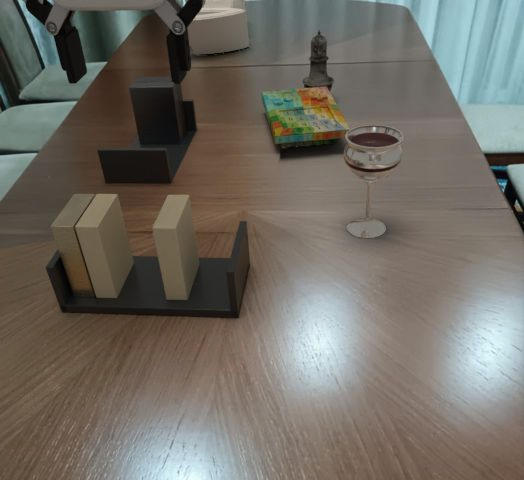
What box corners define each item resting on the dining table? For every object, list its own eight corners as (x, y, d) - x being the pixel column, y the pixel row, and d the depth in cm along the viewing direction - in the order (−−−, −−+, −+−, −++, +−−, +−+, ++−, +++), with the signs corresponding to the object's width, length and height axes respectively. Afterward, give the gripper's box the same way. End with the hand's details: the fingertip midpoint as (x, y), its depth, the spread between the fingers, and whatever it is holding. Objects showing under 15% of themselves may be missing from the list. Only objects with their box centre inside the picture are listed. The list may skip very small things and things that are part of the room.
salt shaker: (296, 102, 108) (295, 31, 100) (314, 92, 111) (315, 23, 103) (321, 108, 105) (322, 36, 97) (339, 98, 108) (342, 28, 100)
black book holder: (61, 312, 64) (32, 234, 57) (90, 261, 71) (68, 186, 64) (238, 318, 62) (230, 237, 55) (250, 265, 69) (244, 188, 62)
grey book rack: (172, 189, 84) (160, 121, 78) (106, 189, 85) (90, 121, 79) (198, 135, 99) (190, 73, 92) (142, 135, 100) (130, 74, 93)
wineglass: (398, 219, 75) (410, 128, 67) (385, 246, 70) (395, 151, 62) (349, 211, 77) (354, 121, 69) (332, 236, 73) (336, 143, 65)
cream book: (166, 299, 63) (151, 227, 57) (180, 263, 68) (167, 194, 62) (187, 300, 63) (175, 228, 57) (199, 264, 68) (189, 194, 62)
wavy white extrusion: (249, 58, 130) (246, 5, 122) (176, 62, 130) (169, 9, 123) (249, 20, 155) (247, -26, 148) (189, 23, 156) (183, -22, 149)
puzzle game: (326, 81, 102) (351, 123, 87) (325, 108, 105) (349, 153, 90) (261, 86, 101) (274, 130, 87) (262, 113, 105) (275, 160, 90)
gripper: (210, -178, 43) (227, 66, 55) (-7, -169, 45) (54, 66, 56) (190, -177, 37) (214, 94, 49) (-57, -166, 39) (22, 92, 51)
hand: (128, 78), depth 53 cm, fingers open, 9 cm apart
